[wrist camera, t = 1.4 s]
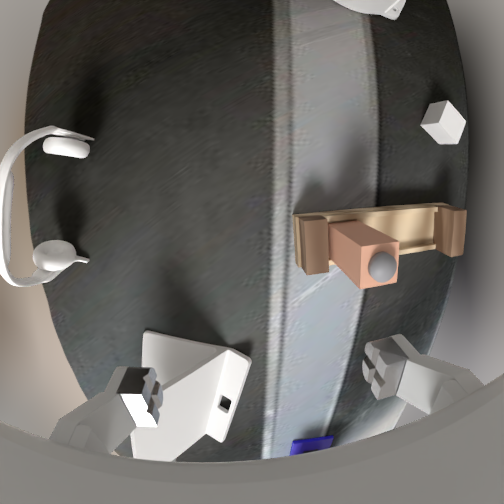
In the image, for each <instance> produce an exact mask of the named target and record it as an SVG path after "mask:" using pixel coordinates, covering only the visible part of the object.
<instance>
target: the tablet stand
mask: <svg viewBox="0 0 504 504" xmlns="http://www.w3.org/2000/svg"><path fill="white" fill-rule="evenodd" d="M250 365H251V359H250V358H249V357H248V356H246V355H244V354H242V353H240V352H239V351H237V350H235V349H233V348H228V347H223V346H217V345H212V344H207V343H202V342H197V341H192V340H187V339H182V338H178V337H174V336H169V335H165V334H161V333H157V332H153V331H148V330H147V331H145V332H144V334H143V348H142V367H152V368H154V369H155V371H156V374H157V377H156V381H158V382H159V383H160V384H161V387H162V391H163V404H162V406H161V407H160V408H159V409H158V411H159V413H160V416H159V420H158V425H157V427H153V426H137V427H136V428H135V429H134V430H133V431H132V432H131V433H130V434H131V442H132V450H133V457H134V458H137V459H146V460H156V461H170V462H171V461H172V460H174V459H175V458H176V457H178V456H179V455H180V454H181V453H183V452H184V451H185V450H186V449H188V448H189V447H190V446H191V445H193V444H194V443H195V442H196V441H197V440H199V439H200V438H201V437H202V436H203V435H204V434H208V435H210V436H211V437H213V438H214V439H216V440H217V441H219V442H223V441H224V440H225V437H226V435H227V432H228V429H229V426H230V424H231V421H232V418H233V415H234V412H235V409H236V406H237V404H238V401H239V398H240V395H241V392H242V389H243V386H244V383H245V380H246V377H247V374H248V371H249V368H250ZM222 395H223V396H225V397H227V398H228V399H230V400H231V405H230V408H229V411H228V410H227V409H225V408H223V407H222V406H220V402H221V398H222Z"/></svg>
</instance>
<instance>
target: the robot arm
mask: <svg viewBox="0 0 504 504" xmlns="http://www.w3.org/2000/svg"><path fill="white" fill-rule="evenodd" d="M334 1H335V2H337V3H339V4H340V5H342V6H344V7H346V8H349V9H351V10H354V11H357V12H361V13H366V14H378V15H382V16H384V17H387V18H389V19H393V20H395V19H397V17H398V16H399V14H400V12H401V10H402V8H403V6H404V4H405V2H406V0H334ZM365 352H366V354H367V356H366V357H365V358H364V360H363V366H362V367H363V374H364V377H365V379H366V381H367V382H369V383H371V384H372V387H371V390H372V391H373V393H374V395H375V396H376V398H377V400H379V399H382V398H386V397H389V396H393V395H396V396H398V397H400V398H401V399H403V400H405V401H407V402H408V403H410V404H412V405H413V406H415V407H417V408H418V409H420V410H422V411H424V412H425V413H427V414H429V415H428V416H425V417H423V418H421V419H418V420H416V421H414V422H411V423H409V424H406V425H404V426H401V427H399V428H396V429H393V430H390V431H387V432H384V433H381V434H378V435H375V436H372V437H369V438H366V439H363V440H359V441H356V442H352V443H348V444H345V445H341V446H337V447H333V448H328V449H324V450H319V451H314V452H309V453H304V454H298V455H292V456H286V457H279V458H271V459H262V460H252V461H238V462H212V463H196V462H170V461H156V460H146V459H137V458H130V457H123V456H117V455H111V452H113V451H114V450H115V449H116V448H117V447H118V446H119V445H120V444H121V443H122V442H123V441H124V440H125V439H126V438H127V437H128V436H129V434H130V433H131V432H132V431H133V430H134V429H135V428H136V427H137V426H153V427H157V425H158V420H159V416H160V413H159V411H158V409H159V408H160V407H161V406H162V404H163V391H162V387H161V384H160V383H159V382H158V381H156V377H157V374H156V371H155V369H154V368H152V367H122V366H118V367H117V368H116V369H115V371H114V373H113V375H112V377H111V379H110V381H109V383H108V385H107V387H106V389H105V391H104V393H102V392H100V393H99V394H97V395H96V396H94V397H93V398H91V399H90V400H88V401H87V402H85V403H84V404H82V405H81V406H79V407H77V408H76V409H74V410H73V411H71V412H70V413H68V414H67V415H65V416H63V417H62V418H60V419H59V421H58V423H57V425H56V427H55V429H54V431H53V432H52V434H51V436H50V438H49V439H46V438H43V437H40V436H37V435H34V434H32V433H29V432H26V431H24V430H21V429H18V428H16V427H13V426H11V425H8V424H6V423H4V422H2V421H0V504H504V374H502V375H501V376H499V377H498V378H496V379H495V380H493V381H491V382H490V383H488V384H487V385H485V386H484V385H483V384H482V383H481V382H480V380H479V379H478V378H477V377H476V376H475V375H474V374H473V373H472V372H471V371H470V370H469V369H466V368H463V367H459V366H456V365H453V364H450V363H448V362H444V361H441V360H439V359H436V358H433V357H430V356H427V355H424V354H423V355H420V354H419V353H418V352H417V351H416V349H415V348H414V347H413V346H412V345H411V344H410V343H409V342H408V341H407V339H406V338H405V337H404V336H403V335H401V334H398V335H394V336H391V337H389V338H384V339H380V340H376V341H372V342H368V343H367V344H366V346H365Z"/></svg>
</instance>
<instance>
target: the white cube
mask: <svg viewBox="0 0 504 504" xmlns="http://www.w3.org/2000/svg"><path fill="white" fill-rule="evenodd" d="M465 123H466V121H465V120H464V118H463V117H462V116H461V115H460V114H459V112H458V111H457V110H456V109H455V108H454V107H453V105H452V104H451V103H450V102H449V101H448V100H447V101H442V102H437V103H432V104H430V105H429V107H428V109H427V111H426V114H425V116H424V118H423V120H422V122H421V126H422V127H423V128H424V129H425V130H426V131H427V132H428V133H429V134H430V135H431V136H432V137H433V138H434V139H435V140H436V141H437V143H438V144H458V142H459V139H460V137H461V134H462V131H463V129H464V126H465Z"/></svg>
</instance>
